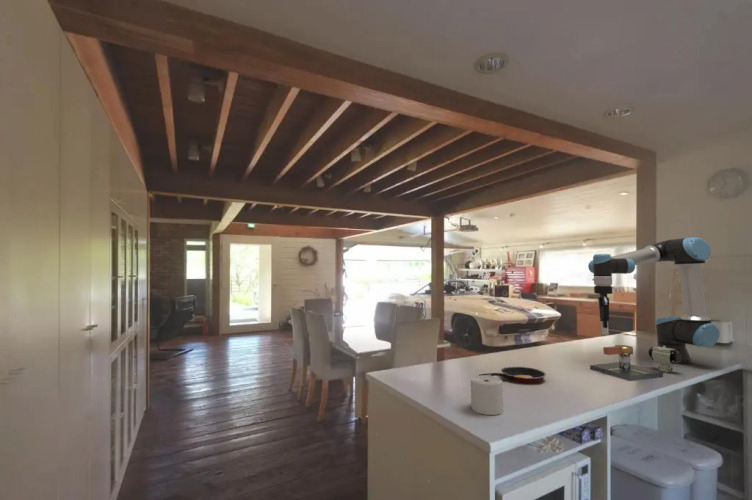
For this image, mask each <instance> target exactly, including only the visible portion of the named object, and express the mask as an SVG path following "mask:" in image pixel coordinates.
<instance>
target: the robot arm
mask: <svg viewBox="0 0 752 500" xmlns="http://www.w3.org/2000/svg"><path fill="white" fill-rule="evenodd" d="M710 256H711V248H710V245H709V243H708V242H707V241H706V240H705V239H703V238H700V237H698V236H696V237H694V236H693V237H683V238H676V239H675V238H674V239H668V240H663V241H660V242H656V243H653V244H649V245H647V246H645V247H644V248H641V249H637V250H633V251H628V252H624V253H621V254H616V255H612V256H611V254H610V253H599V254H598V253H596V254H593V257H592V260H591V261H589V263H588V266H587V268H588V271H589V272H591V274H593V278H592V281H593V285H594V286H593V293H594V294H596V295H597V294H598V295H599V297H597V299H598V300H597V301H598V309H599V321H600V333H601V335H604V336H609V321H610V298H609V297H608V295H612V294H613V286H612V285H613V276H612V275H616V274H617V275H618V274H621V275H622V274H623V275H627V274H632V273H633V272H634V271H635V269H636V266H638V265H642V264H643V265H644V264H647V263H658V262H659V263H660V262H674V266H675V267H677V268H678V274H679V281H680V282H679V283H680V284H679V285H680V291H681V292H680V294H681V300H682V301H681V304H682V311H683V314H682V316H679V317H678V316H676V317H675V316H673V317H672V316H671V317H657V318H656V322H655V327H656V339H657V340H656V341H657V346H659V347H663V346H665V348H671V349H676V350H678V352H679V353H680V354H681V356H682V359H681V361H680V362H679V363H677V364H678V365H679V364H680V365H681V364H682V365H683V364H685V365H686V364H687V365H688V364H692V357H691V356H690V353H689V350H688V349H687V345H691V346H696V347H702V348H710V347H712V346H714V345H715V344H716V343H717V342H718V341H719V339H720V330H719V327H718V326H717V325H715V324H714V323H712V318H711V317H709V316H708V315H707V306H706V298H705V289H704V280H703V271H702V267H703V266H704V265H706V260H707V259H709V258H710Z"/></svg>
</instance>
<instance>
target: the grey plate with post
mask: <svg viewBox="0 0 752 500" xmlns="http://www.w3.org/2000/svg"><path fill="white" fill-rule="evenodd" d="M589 369H590V370H591V371H595V372H599V373H602V374H606V375H609V376H612V377H616V378H618V379H623V380H625V381H628V382H629V381H630V382H633V381H639V380H640V379H641V380H649V379H656V378H663V377H664V372H663V371H660V370H655V369H651V368H648V367H642V366H639V365H635V364H631V354H618V362H607V363H597V364H590V365H589Z"/></svg>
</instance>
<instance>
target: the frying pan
mask: <svg viewBox="0 0 752 500" xmlns="http://www.w3.org/2000/svg"><path fill="white" fill-rule="evenodd" d="M500 371H501V372H502V373H501V372H490V373H481V374H478V376H480V375H491V377H495V376H497V377H503V378H507V379H508V380H510V381H512V382H515V383H522V384H536V383H539V382H541V381H542V380H543V379H544V378H545V377H546V376H547V373H546V372H545V371H544V370H541V369H538V368H533V367H528V366H506V367H503V368H501V369H500Z"/></svg>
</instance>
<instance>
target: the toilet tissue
mask: <svg viewBox="0 0 752 500" xmlns="http://www.w3.org/2000/svg"><path fill="white" fill-rule="evenodd" d="M479 375H480V374H479ZM479 375H475V376H472V377H471V378H470V399H471V400H470V401H471V403H470V405H471V406H470V407H471V409H472V411H474V412H475V413H477V414H481V415H485V416H486V415H487V416H496V415H497V416H498V415H502V414H503V413H504V397H503V396H504V394H503V392H504V390H503V389H504V388H503V380H502V379H501V378H497V377H495V376H491V375H480V376H479Z"/></svg>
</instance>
